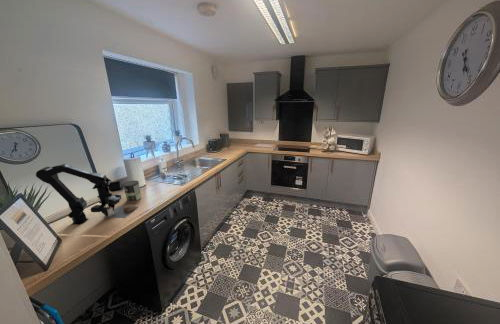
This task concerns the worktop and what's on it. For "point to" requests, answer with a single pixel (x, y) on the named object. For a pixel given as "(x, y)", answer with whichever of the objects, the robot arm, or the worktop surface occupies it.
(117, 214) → the board
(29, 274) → the worktop surface
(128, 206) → the base
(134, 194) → the coffee can
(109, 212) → the cap
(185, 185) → the worktop surface
